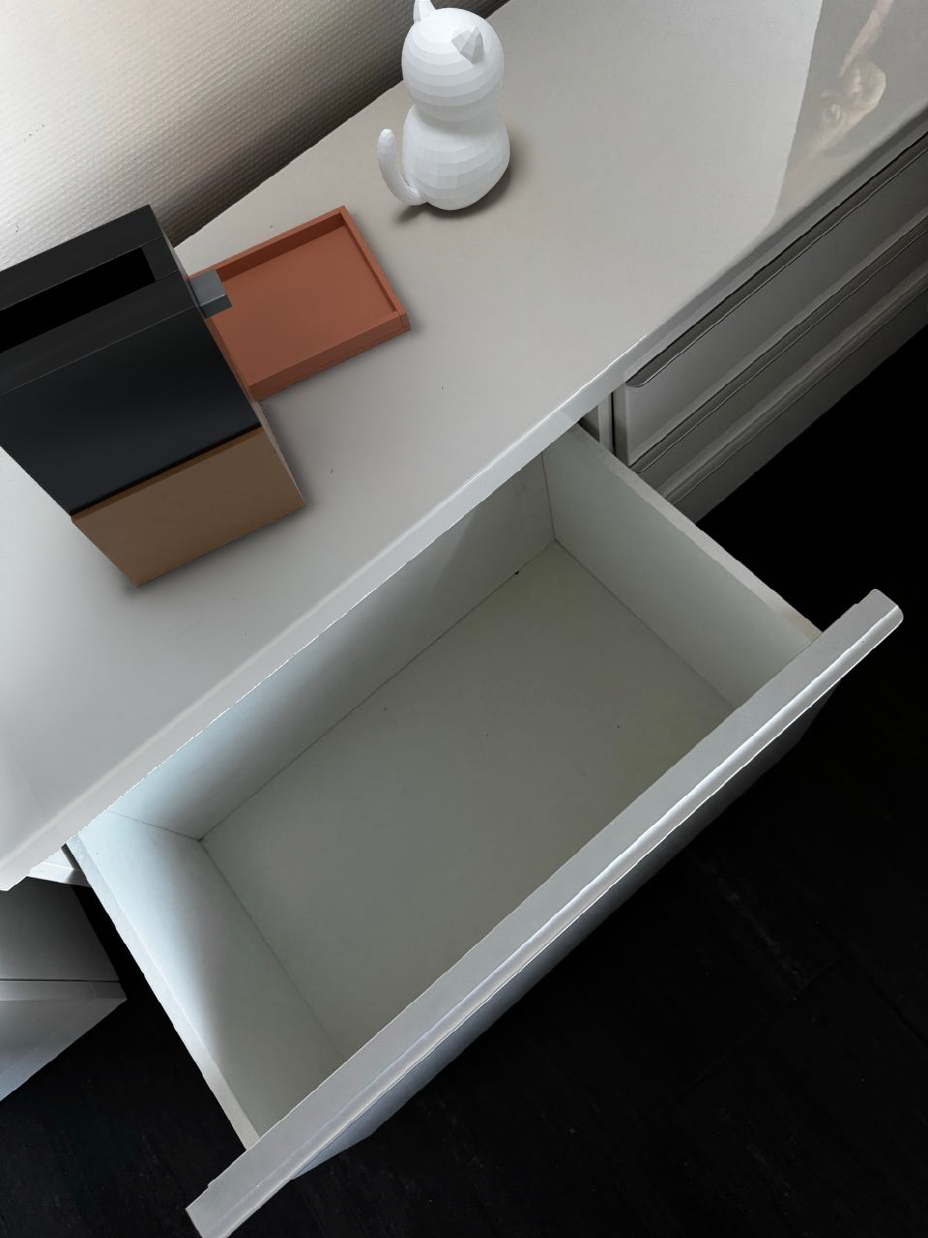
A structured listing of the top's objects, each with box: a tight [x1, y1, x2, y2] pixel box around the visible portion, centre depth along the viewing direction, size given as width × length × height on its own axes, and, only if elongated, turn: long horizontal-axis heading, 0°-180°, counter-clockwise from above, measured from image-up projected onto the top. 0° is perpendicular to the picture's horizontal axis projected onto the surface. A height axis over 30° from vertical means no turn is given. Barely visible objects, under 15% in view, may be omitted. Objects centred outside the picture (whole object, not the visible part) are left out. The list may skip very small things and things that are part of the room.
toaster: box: [0, 203, 307, 587], centre depth 69 cm, size 16×10×22 cm, turn 115°
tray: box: [188, 204, 412, 402], centre depth 84 cm, size 15×13×2 cm
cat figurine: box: [376, 0, 511, 211], centre depth 82 cm, size 9×12×15 cm
